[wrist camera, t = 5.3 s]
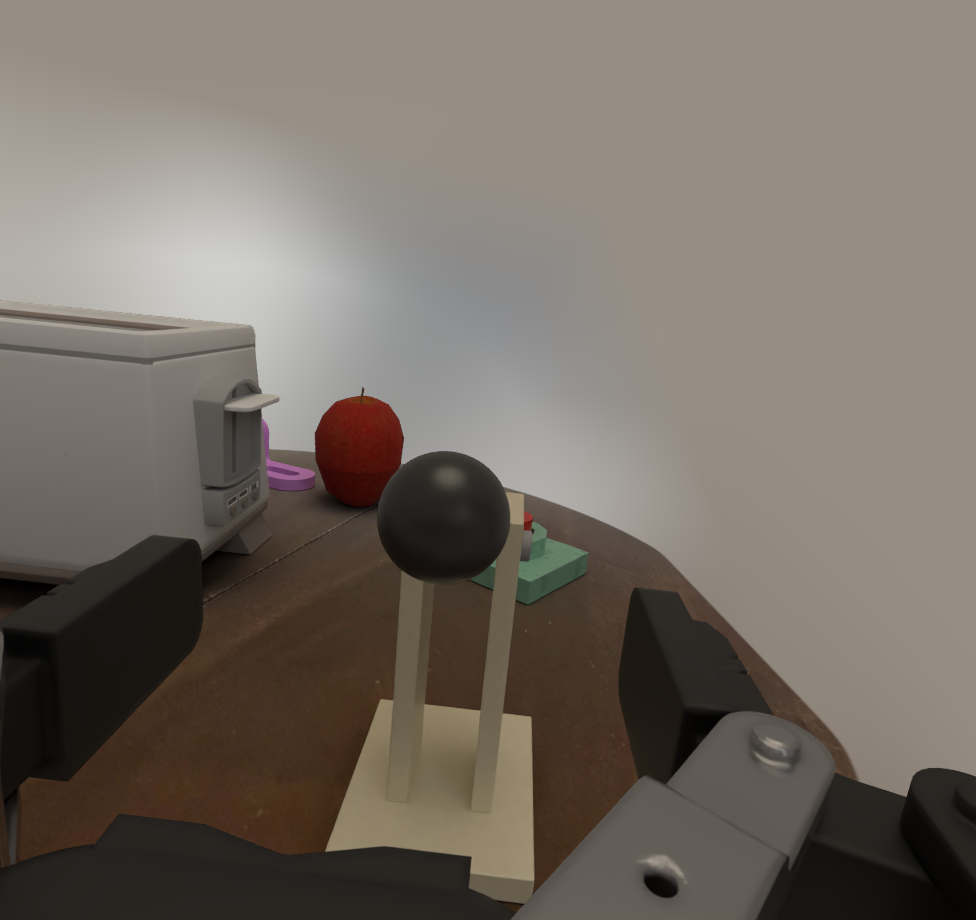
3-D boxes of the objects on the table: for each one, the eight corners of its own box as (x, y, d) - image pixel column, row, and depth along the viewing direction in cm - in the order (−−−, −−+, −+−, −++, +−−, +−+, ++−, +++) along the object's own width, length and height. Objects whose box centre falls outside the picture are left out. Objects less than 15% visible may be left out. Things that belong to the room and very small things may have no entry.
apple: (325, 486, 81) (329, 377, 77) (404, 493, 81) (411, 385, 78) (302, 512, 71) (305, 388, 67) (392, 520, 71) (399, 397, 68)
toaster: (210, 635, 45) (206, 341, 40) (-252, 581, 46) (-312, 289, 41) (303, 538, 63) (308, 330, 58) (-28, 501, 65) (-50, 294, 60)
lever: (503, 593, 15) (519, 446, 16) (354, 578, 15) (375, 431, 16) (500, 583, 30) (508, 507, 31) (424, 574, 30) (434, 499, 31)
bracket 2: (531, 905, 27) (578, 560, 23) (322, 879, 27) (335, 533, 23) (529, 735, 38) (561, 480, 34) (379, 717, 38) (394, 462, 34)
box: (585, 573, 62) (591, 534, 61) (527, 605, 54) (532, 561, 53) (489, 537, 69) (492, 502, 68) (425, 561, 61) (428, 521, 60)
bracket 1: (215, 473, 82) (214, 420, 80) (247, 465, 87) (247, 415, 85) (294, 493, 77) (295, 437, 75) (324, 483, 82) (325, 431, 80)
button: (539, 533, 61) (541, 516, 60) (514, 543, 58) (516, 525, 57) (505, 522, 63) (507, 505, 63) (480, 531, 60) (482, 513, 60)
